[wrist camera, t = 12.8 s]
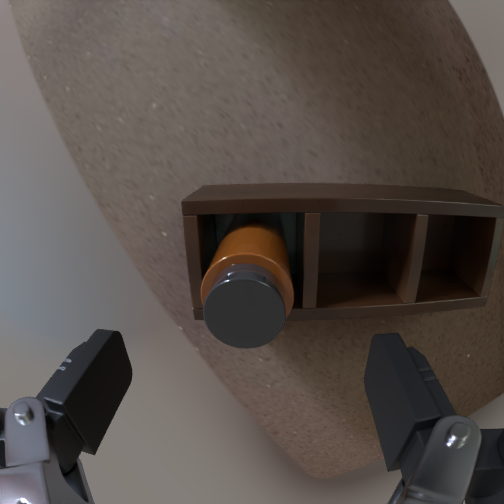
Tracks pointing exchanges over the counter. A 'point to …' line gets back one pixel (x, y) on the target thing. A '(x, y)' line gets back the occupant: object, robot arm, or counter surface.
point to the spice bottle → (249, 282)
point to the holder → (359, 245)
